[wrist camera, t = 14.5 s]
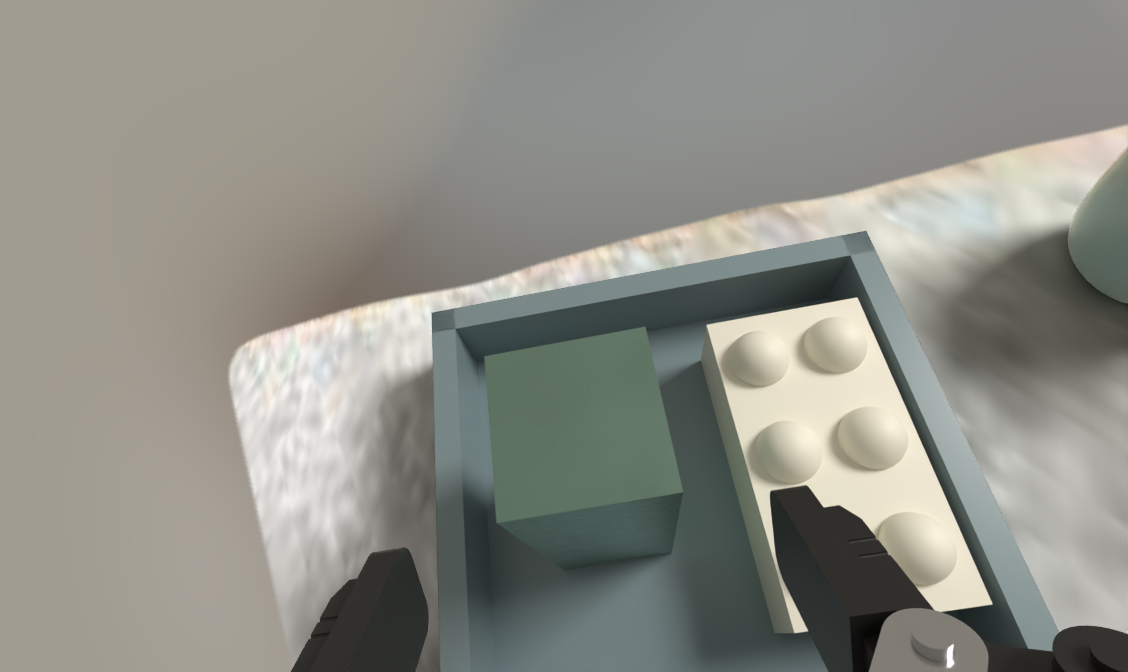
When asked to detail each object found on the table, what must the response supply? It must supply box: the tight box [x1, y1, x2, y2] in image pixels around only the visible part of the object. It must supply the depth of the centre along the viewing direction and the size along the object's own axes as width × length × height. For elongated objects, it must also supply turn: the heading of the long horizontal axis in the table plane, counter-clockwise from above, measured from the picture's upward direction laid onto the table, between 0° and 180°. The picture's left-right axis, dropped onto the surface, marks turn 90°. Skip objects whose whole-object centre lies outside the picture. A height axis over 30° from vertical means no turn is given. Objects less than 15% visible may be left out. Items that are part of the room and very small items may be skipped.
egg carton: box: [701, 298, 992, 633], centre depth 25 cm, size 7×13×5 cm, turn 8°
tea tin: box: [484, 327, 683, 570], centre depth 22 cm, size 5×5×13 cm
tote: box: [432, 231, 1059, 672], centre depth 26 cm, size 22×20×5 cm
